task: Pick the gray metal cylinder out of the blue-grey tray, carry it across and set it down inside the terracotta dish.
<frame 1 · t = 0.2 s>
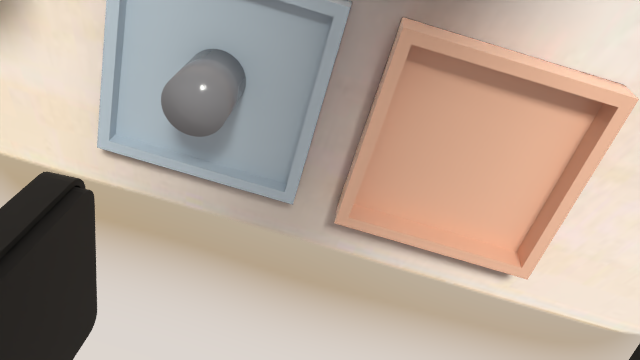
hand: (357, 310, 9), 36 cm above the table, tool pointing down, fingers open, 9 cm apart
parts tray: (218, 75, 46), on the table
gray metal cylinder: (216, 78, 46), point 1 cm above the table, touching parts tray
terracotta dish: (467, 150, 47), on the table
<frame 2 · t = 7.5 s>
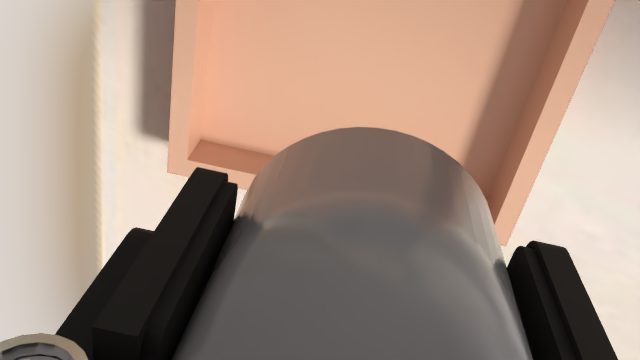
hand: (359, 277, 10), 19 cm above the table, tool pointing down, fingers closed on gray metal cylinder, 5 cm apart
gray metal cylinder: (362, 243, 11), point 18 cm above the table, touching gripper
terracotta dish: (377, 23, 27), on the table
when the fingers open (3 cm above the table, at t = 11.4 s): gray metal cylinder drops 1 cm, resting on terracotta dish.
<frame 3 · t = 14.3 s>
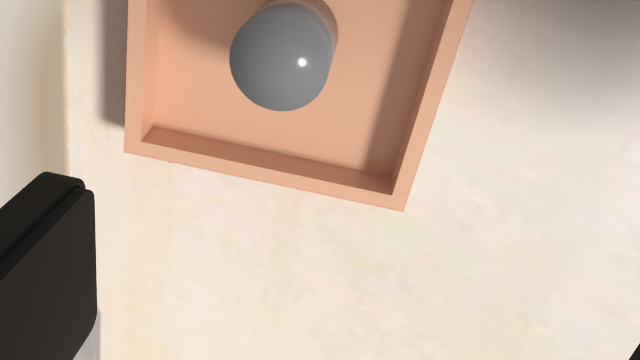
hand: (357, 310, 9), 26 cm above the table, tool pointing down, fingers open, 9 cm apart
gray metal cylinder: (295, 33, 33), point 1 cm above the table, touching terracotta dish
terracotta dish: (295, 30, 33), on the table
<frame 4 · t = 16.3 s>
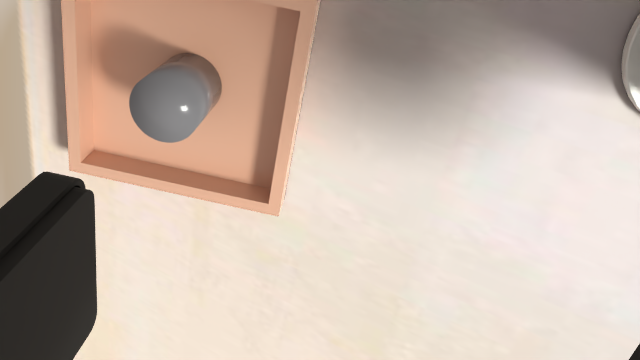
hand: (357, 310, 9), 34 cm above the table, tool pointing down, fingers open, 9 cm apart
gray metal cylinder: (190, 84, 44), point 1 cm above the table, touching terracotta dish
terracotta dish: (192, 81, 45), on the table
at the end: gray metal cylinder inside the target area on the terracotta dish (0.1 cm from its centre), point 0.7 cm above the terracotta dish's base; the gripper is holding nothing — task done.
